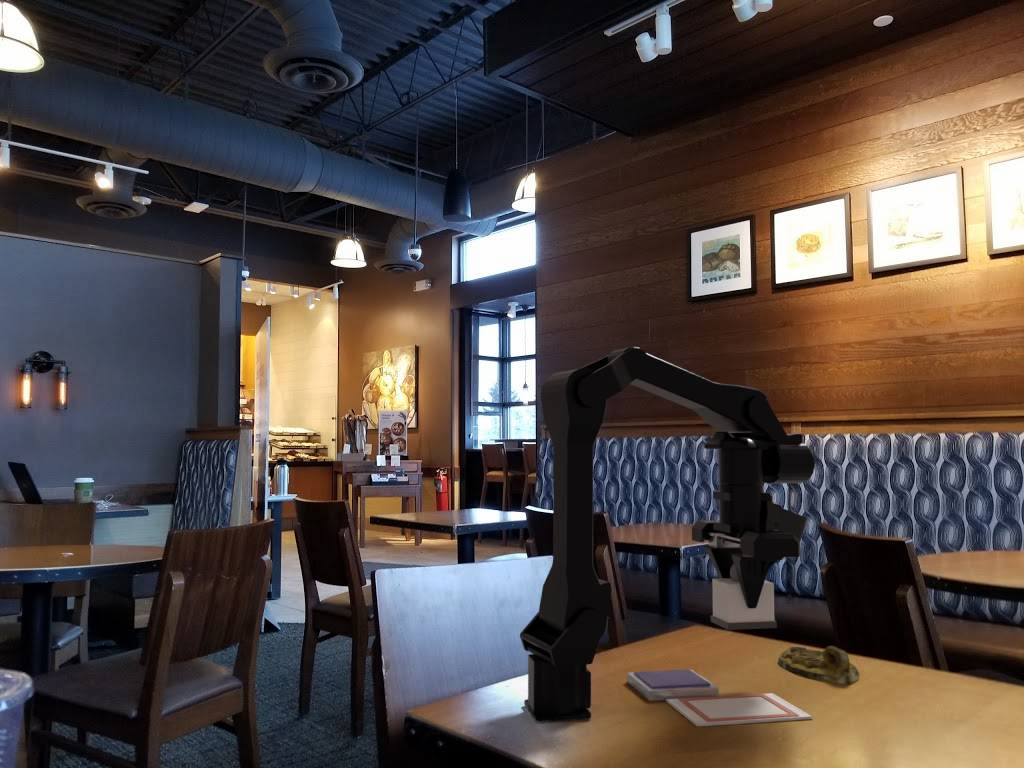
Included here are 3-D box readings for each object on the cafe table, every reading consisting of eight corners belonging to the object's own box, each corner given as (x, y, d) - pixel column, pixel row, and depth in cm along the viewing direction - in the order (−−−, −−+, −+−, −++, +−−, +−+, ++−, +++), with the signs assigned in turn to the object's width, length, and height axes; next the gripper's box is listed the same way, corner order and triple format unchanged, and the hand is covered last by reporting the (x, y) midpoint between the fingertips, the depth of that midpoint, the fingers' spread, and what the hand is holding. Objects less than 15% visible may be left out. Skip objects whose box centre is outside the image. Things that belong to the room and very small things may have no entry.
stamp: (776, 627, 101) (775, 562, 102) (727, 629, 100) (726, 564, 101) (757, 619, 106) (756, 557, 107) (710, 621, 105) (710, 558, 105)
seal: (761, 665, 117) (820, 695, 102) (757, 633, 117) (816, 658, 103) (817, 655, 119) (883, 683, 104) (812, 623, 119) (878, 646, 105)
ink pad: (649, 701, 95) (649, 688, 96) (626, 681, 103) (626, 670, 103) (718, 697, 97) (718, 685, 97) (691, 678, 105) (691, 667, 105)
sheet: (696, 726, 87) (696, 722, 87) (666, 701, 95) (666, 698, 95) (811, 719, 90) (811, 715, 90) (772, 695, 98) (772, 692, 98)
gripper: (838, 487, 97) (841, 617, 96) (760, 481, 115) (762, 590, 114) (754, 487, 95) (757, 620, 93) (689, 481, 113) (690, 592, 112)
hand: (742, 604), depth 103 cm, fingers closed on stamp, 4 cm apart
